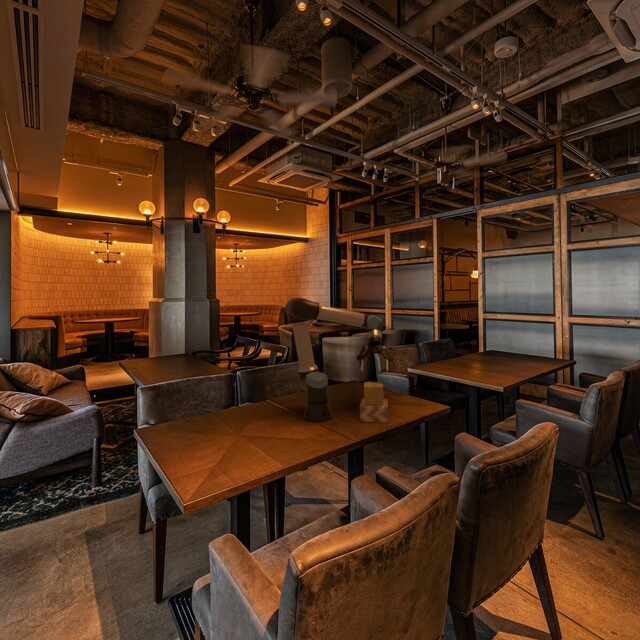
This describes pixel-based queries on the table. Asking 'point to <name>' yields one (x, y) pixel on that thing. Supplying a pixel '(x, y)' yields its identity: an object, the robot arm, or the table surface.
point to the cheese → (373, 393)
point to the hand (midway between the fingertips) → (374, 370)
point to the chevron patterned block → (374, 412)
